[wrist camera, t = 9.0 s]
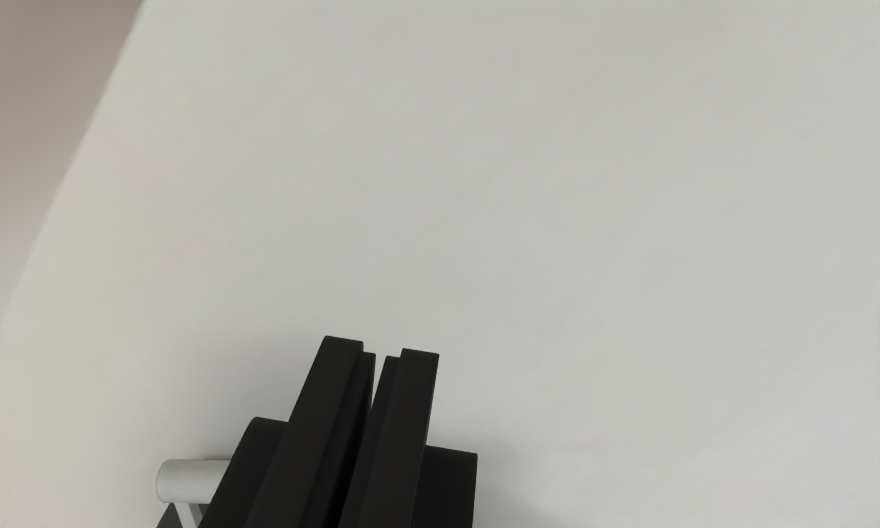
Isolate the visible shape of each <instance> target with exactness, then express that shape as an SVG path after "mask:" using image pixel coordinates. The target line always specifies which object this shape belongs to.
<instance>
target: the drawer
mask: <svg viewBox="0 0 880 528" xmlns="http://www.w3.org/2000/svg"><path fill="white" fill-rule="evenodd" d="M230 461H231V460H182V459H169V460H167V461H165V462H164V463H163V464H162V466H161V467H160V470H159V472H158V475H157V481H156V491H157V495H158V498H159V500H160V501H162V502H164V503H170V504H169V506H168V507H167V509H166V511H165V513H164V515H163V516H162V518H161V520H160V522H159V524H158V525H157V527H156V528H198V526H199V524H200V522H201V520H202V518H203V516H204V514H205V512H206V510H207V508H208V506H209V504H210V502H211V500H212V498H213V496H214V494H215V492H216V489H217V487H218V485H219V483H220V481H221V479H222V477H223V475H224V473H225V471H226V469H227V467H228V465H229V463H230Z"/></svg>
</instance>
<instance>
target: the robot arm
mask: <svg viewBox="0 0 880 528" xmlns="http://www.w3.org/2000/svg"><path fill="white" fill-rule="evenodd" d="M375 361H376V354H375V353H368V352H363V342H362V341H357V340H351V339H345V338H338V337H332V336H325V337H324V339H323V341H322V343H321V346H320V348H319V350H318V353H317V355H316V357H315V360H314V362H313V364H312V367H311V369H310V371H309V374H308V376H307V379H306V381H305V383H304V386H303V388H302V390H301V393H300V395H299V397H298V400H297V402H296V404H295V407H294V409H293V412H292V414H291V416H290V419H289V421H288V422H284V421H278V420H272V419H266V418H260V417H255V418H254V419H252V420H251V422H250V424H249V425H248V427H247V429H246V431H245V433H244V435H243V437H242V439H241V441H240V443H239V445H238V447H237V449H236V451H235V453H234V455H233V457H232V459H231V461H230V463H229V465H228V467H227V469H226V471H225V473H224V475H223V477H222V479H221V481H220V483H219V485H218V487H217V489H216V492H215V494H214V496H213V498H212V500H211V502H210V504H209V506H208V508H207V510H206V512H205V514H204V516H203V518H202V520H201V522H200V524H199V526H198V528H472V523H473V510H474V498H475V486H476V474H477V459H478V457H477V454H476V453H470V452H464V451H458V450H452V449H446V448H440V447H434V446H428V445H426V440H427V434H428V427H429V420H430V414H431V407H432V400H433V394H434V387H435V381H436V374H437V367H438V361H439V354H437V353H431V352H425V351H418V350H412V349H406V348H403V349H402V352H401V356H400V358H399V357H393V356H386V359H385V362H384V366H383V369H382V373H381V376H380V380H379V383H378V387H377V390H376V394H375V398H374V401H373V405H372V408H371V403H372V393H373V382H374V372H375Z"/></svg>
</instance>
